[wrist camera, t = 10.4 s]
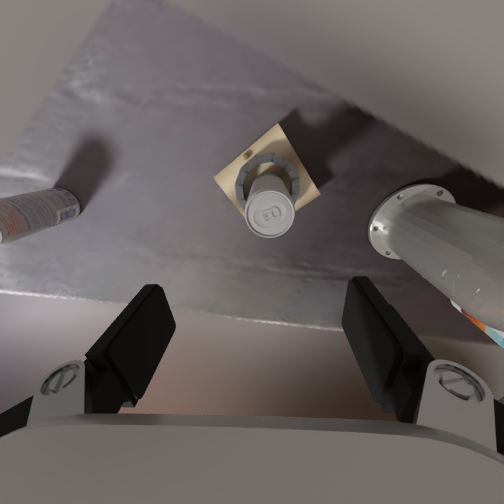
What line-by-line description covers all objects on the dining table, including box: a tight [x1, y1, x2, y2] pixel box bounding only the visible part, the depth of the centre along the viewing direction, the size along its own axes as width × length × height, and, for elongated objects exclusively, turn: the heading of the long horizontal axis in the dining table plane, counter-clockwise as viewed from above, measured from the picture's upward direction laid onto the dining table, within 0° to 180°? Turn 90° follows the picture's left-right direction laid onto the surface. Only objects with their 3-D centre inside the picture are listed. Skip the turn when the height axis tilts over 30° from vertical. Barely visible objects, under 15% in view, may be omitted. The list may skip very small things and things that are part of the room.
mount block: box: [214, 123, 320, 219], centre depth 30 cm, size 11×11×4 cm
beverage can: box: [245, 173, 295, 238], centre depth 24 cm, size 5×5×12 cm
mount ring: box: [235, 153, 300, 211], centre depth 28 cm, size 8×8×2 cm
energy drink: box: [0, 188, 80, 245], centre depth 30 cm, size 5×5×12 cm
